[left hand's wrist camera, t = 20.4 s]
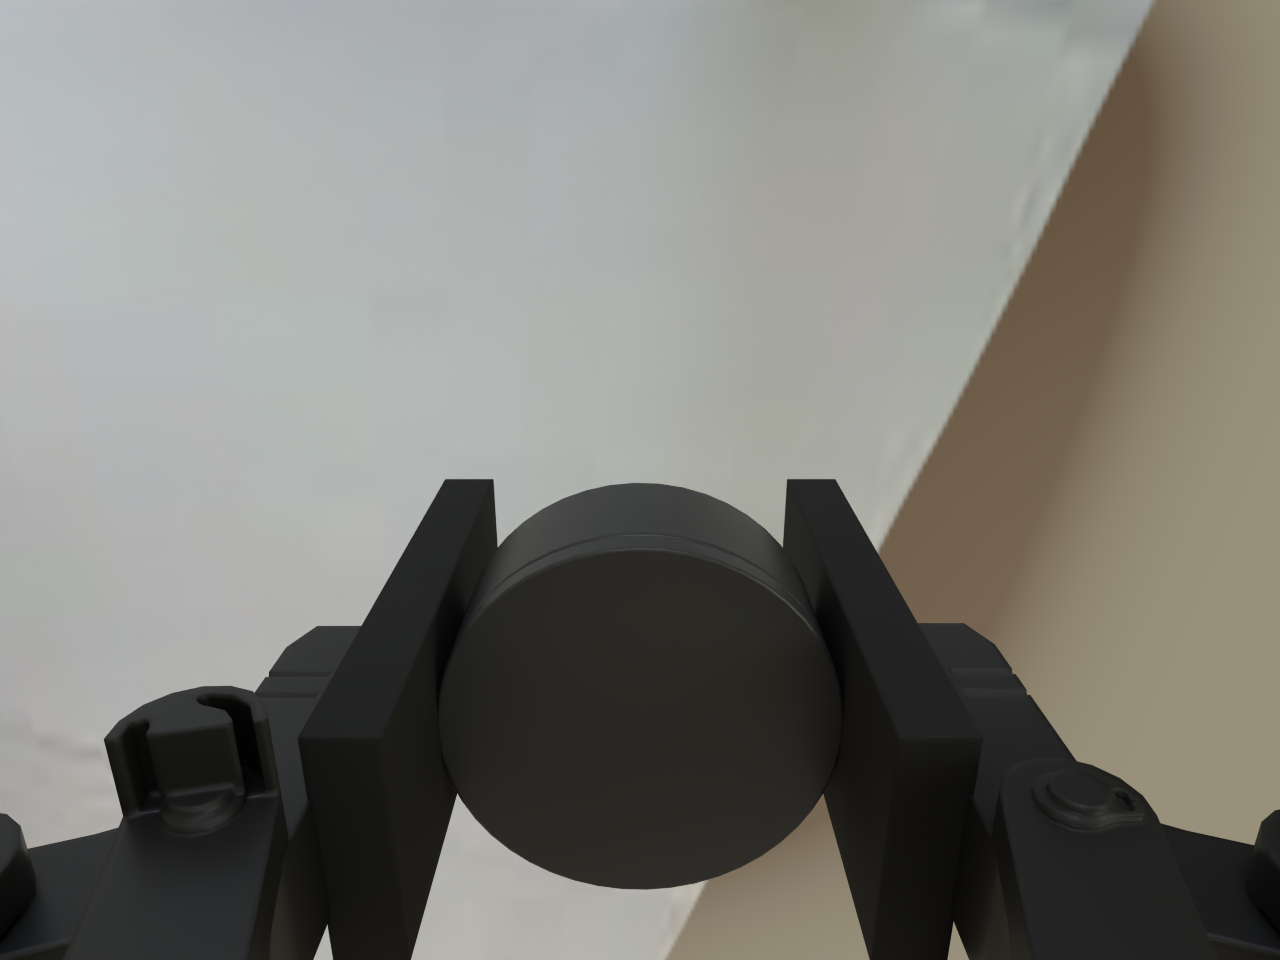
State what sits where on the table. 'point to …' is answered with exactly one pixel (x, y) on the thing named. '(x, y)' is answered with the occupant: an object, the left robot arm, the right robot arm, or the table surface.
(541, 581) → the lid
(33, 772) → the table surface
